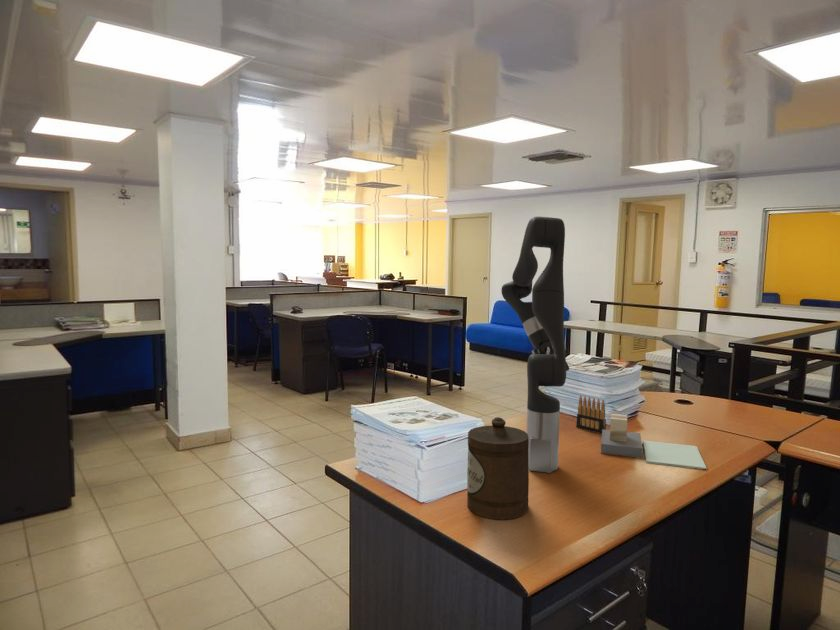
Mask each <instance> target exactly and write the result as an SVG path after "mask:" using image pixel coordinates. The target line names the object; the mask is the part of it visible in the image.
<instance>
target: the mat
mask: <svg viewBox="0 0 840 630" xmlns="http://www.w3.org/2000/svg"><path fill="white" fill-rule="evenodd" d="M642 446H643V448H644V449H643V450H644V456H645V463H646V464H653V465H654V464H655V465H661V466H662V465H663V466H670V467H677V466H679V468H686V467H689V468H688V469H694V468H697V469H696V470H702V469H706V470H707V469H708V468H707V466H706V464H705V461H704V459H703V456H702V455H701V453H700V451H699V449H698V447H697V445H689V444H681V443H679V444H678V443H670V442H669V443H668V442H661V441H651V440H642Z"/></svg>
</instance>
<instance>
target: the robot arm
mask: <svg viewBox="0 0 840 630" xmlns="http://www.w3.org/2000/svg"><path fill="white" fill-rule="evenodd" d="M565 227H566V226H565V223H564V220H563V219H562V218H557V217H550V216H549V217H548V216H532V217H531V218H530V219H529V221H528V223H527V225H526V228H525V231H524V235H523V240H522V244H521V249H520V254H519V258H518V260H517V263H516V265H515V267H514V271H513V273H512V277H511V278H512V281H509V282H506V283H504V284H503V285H502V286H501V295H502V297H503V299H504V300H505V302H506V303H507V304H508V305H509V306H510V307H511V309H512V310H513V311H514V312H515V313H516V314H517V316H518V318H519V320H520V322H521V324H522V326H523V328H524V329H523V330H524V331H525V333H526V335H527V337H528V339H529V341H530V343H531V345H532V347H533V348H534V349H533V350H531V351H530V355H529V356H528V358H527V365H526V371H527V372H526V373H527V374H526V377H527V402H526V403H527V406H526V410H527V412H526V433H527V434H528V439H529V447H528V469H529V471H532V472H540V473H548V474H551V473H553V472H554V471H557V470H558V469H559V447H560V446H559V445H560V443H559V441H560V415H561V413H560V409H561V403H560V400H559V399H558V398H556V397H554V396H552V395H549V394H547V393H545V392H543V391H542V390H541V389H540V388H539V387H559V388H560V387H563V386H564V385H565V383H566V379H567V371H569V370H570V366H569V363H568V362H567V360H566V358H568V356H569V354H568V352H567V350H566V348H565V347H566V345H565V331H564V330H565V327H564V326H565V325H564V324H565V289H564V257H565V256H564V254H565V240H566V239H565V238H566V228H565ZM533 248H543V249H544V248H546V249H550V253H549V254H550V256H549V260H548V262H547V263H546V266H545V267H544V269H543V271H541V274H540V275H539V276H538V278H537V279H536V280H535V282H534V284H533V280H534V279H535V276H536V275H537V272H538V269H539V263H538V260H537V257H536V255H535V253H534V250H533ZM530 295H531V299H532V300H531V301H523V300H522V299H525V298H527V297H529V296H530Z"/></svg>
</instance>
